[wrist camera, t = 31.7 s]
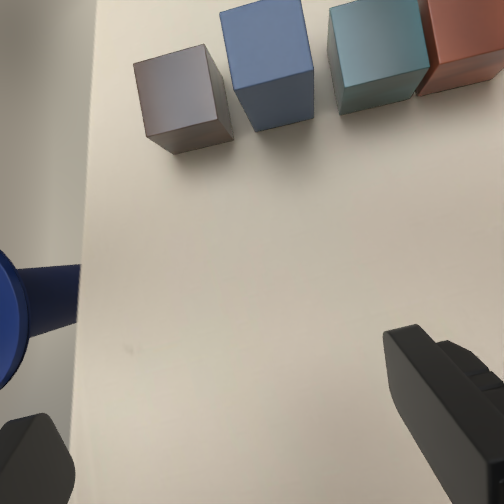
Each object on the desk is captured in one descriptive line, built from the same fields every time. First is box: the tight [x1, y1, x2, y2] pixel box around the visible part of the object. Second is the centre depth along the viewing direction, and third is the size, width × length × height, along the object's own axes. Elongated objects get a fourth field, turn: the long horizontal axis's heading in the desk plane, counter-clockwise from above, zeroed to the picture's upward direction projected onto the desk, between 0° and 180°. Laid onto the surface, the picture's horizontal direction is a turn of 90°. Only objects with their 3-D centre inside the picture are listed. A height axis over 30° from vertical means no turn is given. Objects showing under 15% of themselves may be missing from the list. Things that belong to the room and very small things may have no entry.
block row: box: [133, 0, 504, 154], centre depth 26 cm, size 24×5×5 cm, turn 101°
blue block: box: [219, 0, 314, 132], centre depth 25 cm, size 4×4×8 cm
